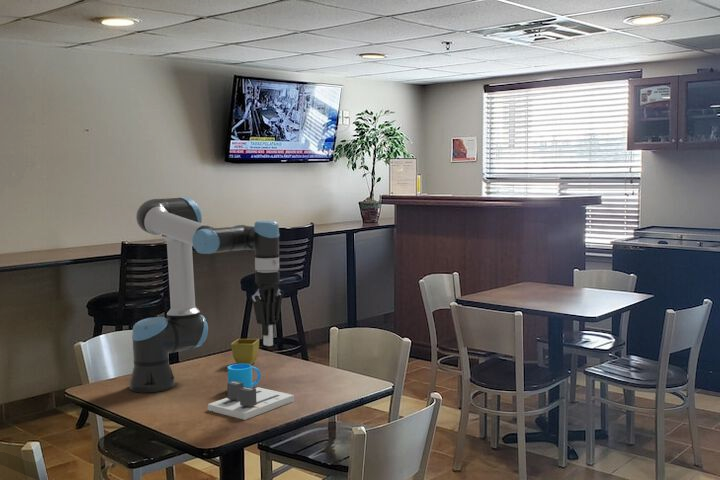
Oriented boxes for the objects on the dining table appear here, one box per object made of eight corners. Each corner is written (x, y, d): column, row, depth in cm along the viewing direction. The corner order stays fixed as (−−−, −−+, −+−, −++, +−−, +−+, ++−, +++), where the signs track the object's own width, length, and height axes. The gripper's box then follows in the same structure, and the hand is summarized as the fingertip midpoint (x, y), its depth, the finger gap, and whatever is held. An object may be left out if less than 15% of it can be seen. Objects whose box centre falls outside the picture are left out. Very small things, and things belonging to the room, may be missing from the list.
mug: (235, 395, 246) (234, 371, 245) (223, 390, 252) (223, 366, 251) (266, 388, 253) (266, 364, 252) (254, 383, 259) (254, 360, 259)
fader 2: (240, 405, 227) (239, 388, 227) (247, 402, 229) (246, 386, 229) (249, 407, 225) (249, 390, 224) (256, 404, 227) (256, 388, 227)
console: (208, 410, 230) (207, 403, 230) (258, 393, 248) (258, 386, 247) (244, 419, 220) (244, 412, 220) (294, 401, 238) (294, 394, 238)
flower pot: (231, 366, 282) (230, 343, 282) (238, 361, 291) (238, 338, 290) (253, 367, 281) (252, 344, 280) (260, 361, 290) (259, 338, 289)
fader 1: (227, 398, 234) (227, 382, 233) (234, 396, 236) (234, 380, 236) (236, 400, 231) (236, 384, 231) (243, 398, 234) (243, 382, 233)
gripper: (261, 274, 224) (262, 351, 226) (290, 269, 234) (291, 342, 237) (243, 272, 228) (244, 347, 231) (273, 267, 239) (273, 339, 241)
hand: (268, 344), depth 234 cm, fingers closed
